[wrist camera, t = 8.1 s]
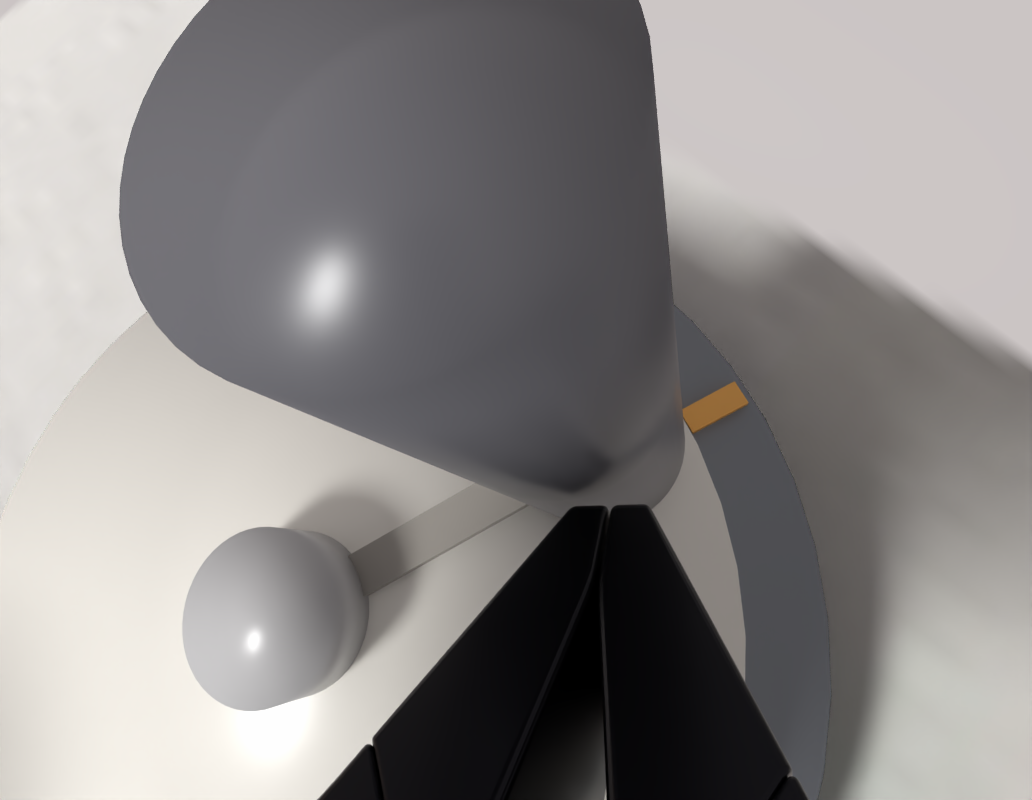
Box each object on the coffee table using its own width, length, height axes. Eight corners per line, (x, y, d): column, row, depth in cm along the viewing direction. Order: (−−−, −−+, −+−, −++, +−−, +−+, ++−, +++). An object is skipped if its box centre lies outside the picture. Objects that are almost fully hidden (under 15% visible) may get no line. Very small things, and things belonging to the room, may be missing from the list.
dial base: (1021, 521, 12) (1068, 513, 11) (418, 1402, 11) (375, 1532, 10) (348, 127, 19) (318, 87, 18) (-65, 661, 18) (-136, 669, 17)
